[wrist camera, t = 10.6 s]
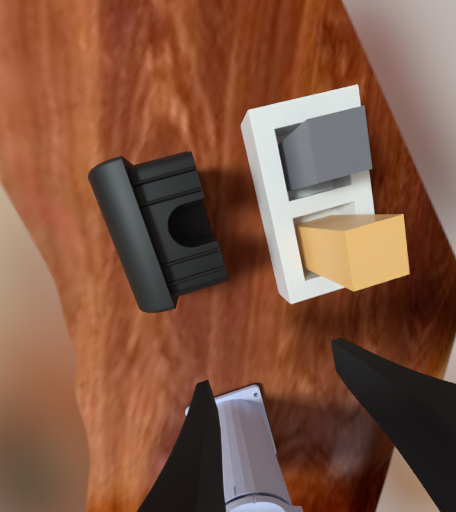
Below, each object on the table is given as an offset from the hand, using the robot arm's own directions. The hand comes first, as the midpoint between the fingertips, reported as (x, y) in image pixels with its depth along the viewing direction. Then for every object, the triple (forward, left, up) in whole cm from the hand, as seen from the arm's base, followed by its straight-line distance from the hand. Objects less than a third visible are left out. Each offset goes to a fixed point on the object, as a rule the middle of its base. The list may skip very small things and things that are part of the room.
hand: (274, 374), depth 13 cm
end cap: (+9, +4, -11) cm, 15 cm away
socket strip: (+8, -9, -10) cm, 16 cm away
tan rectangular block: (+4, -9, -10) cm, 14 cm away
